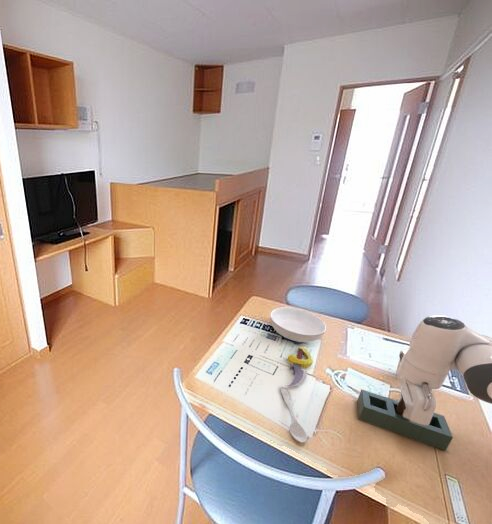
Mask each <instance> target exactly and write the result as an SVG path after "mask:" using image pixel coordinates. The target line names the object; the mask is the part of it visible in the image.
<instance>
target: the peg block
mask: <svg viewBox="0 0 492 524" xmlns="http://www.w3.org/2000/svg"><path fill="white" fill-rule="evenodd" d="M398 403H399V400H396V399H393V398H391V397H387V396H383V395H380V394H378V393H375V392H371V391H368V390H365V389H361V390H360V392H359V395H358V397H357V400H356V404H357V416H358V420H359V421H363V422H365V423H368V424H370V425H374V426H376V427H379V428H382V429H385V430H387V431H389V432H393V433H396V434H399V435H401V436H404V437H406V438H409V439H412V440H414V441H418V442H419V443H423V444H425V445H428V446H431V447H434V448H437V449H440V450H443V451H447V449H448V447H449V445H450V444H451V442H452V440H453V439H454V436H453V434H452V431H451V428H450V427H449V423H448V421H447V419H446V418H445V415H442V414H439V413H436V412H434V414H433V416H432V419H431V421H430V424H429V425H427V426H424V425H421V424H418V423H415V422H412V421H410V419H406V418H404V417H403V416H402V415H399V414H396V413H395V410H396V408H397V406H398Z"/></svg>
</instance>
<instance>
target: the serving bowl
mask: <svg viewBox="0 0 492 524" xmlns="http://www.w3.org/2000/svg"><path fill="white" fill-rule="evenodd" d="M269 321H270V324H271V327H272V328H273V330H274V331H276V333H278V334H279V336H282V337H284V338H285V339H288V340H290V341H293V342H297V343H312V342H315V341H317V340H319V339H320V338H322V337H323V336H324V334H325V332H326V331H327V325H326V323H325V322H324V321H323V319H321V318H320V317H319V316H317V315H316V314H314V313H312V312H310V311H307V310H305V309H301V308H297V307H292V306H291V307H290V306H281V307H276V308H274V309H273V310H271V311H270V313H269Z"/></svg>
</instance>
